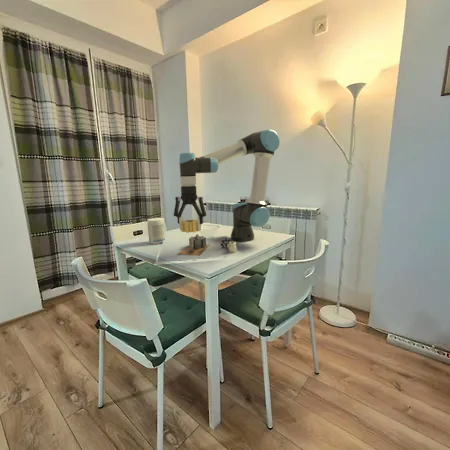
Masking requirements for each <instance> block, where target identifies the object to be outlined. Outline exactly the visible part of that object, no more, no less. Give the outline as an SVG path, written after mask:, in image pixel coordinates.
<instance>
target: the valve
mask: <svg viewBox="0 0 450 450" xmlns="http://www.w3.org/2000/svg"><path fill="white" fill-rule="evenodd" d="M231 240H232V239H231V238H227V237H225V238H224V239H221V242H222V243H219V245H220V246H221V248H226V249H228V252H229V253H232V254H234V253H237V241H231Z"/></svg>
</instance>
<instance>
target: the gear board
mask: <svg viewBox="0 0 450 450" xmlns="http://www.w3.org/2000/svg"><path fill="white" fill-rule="evenodd" d="M199 236H200V235H199V234H197V233H196V235H195V237H196V239H199ZM189 245H190V248H189ZM210 246H211V244H207V243H206V246H205V248H199V249H195V248H194V247H193V239H190V240H189V239H188V245H187V246H186V247H184V248H183V249H182V250H180V251H179V252H178V253H177V255H181V256H198V257H199V256H201V255H203V253H204V252H205V251H206V250H208V248H209V247H210Z"/></svg>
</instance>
